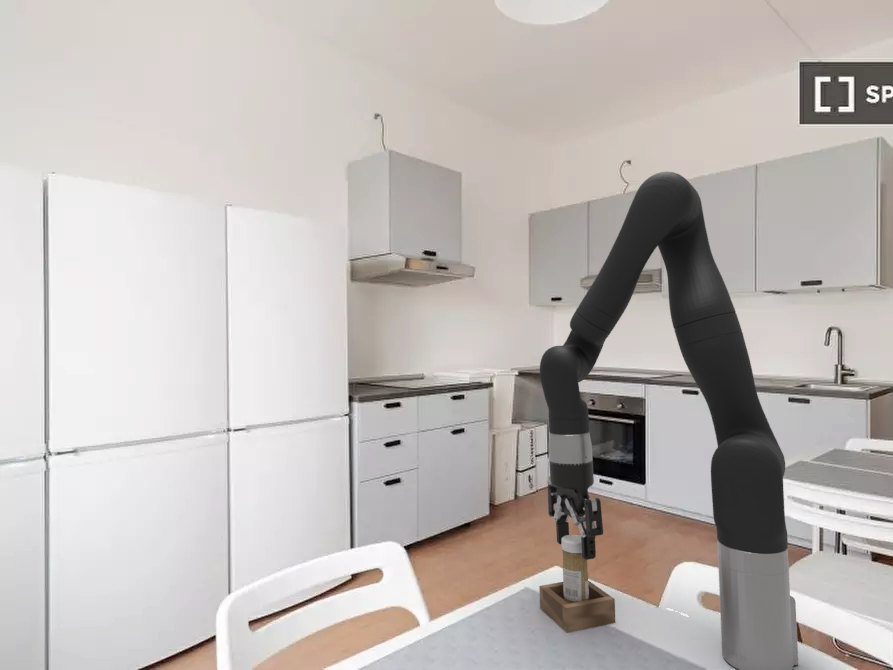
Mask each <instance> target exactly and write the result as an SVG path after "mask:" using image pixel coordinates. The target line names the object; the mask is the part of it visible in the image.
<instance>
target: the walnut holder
mask: <svg viewBox="0 0 893 670" xmlns="http://www.w3.org/2000/svg"><path fill="white" fill-rule="evenodd" d="M588 584H589V600H586V601H581V602H576V603H571V604H568V603H567V602H566V601H564V591H563V581H560V582H555V583H549V584H543V585H539V609H541V610H542V612H544V613H545V614H546V615H547V616H548V617H549V618H550V619H551V620H552V621H553V622H555V624H557V625H558V626H559V627H560V628H561V629H562V630H563V631H564V632H566V633H572V632H577V631H582V630H587V629H591V628H597V627H600V626H604V625H611V624H615V623H616V602H615V601H616V599H615V597H612V595H610V594H608V593H607V592H606V591H604V590H603V589H602V588H600V587H599V586H597V585H595V583H593V582H591V581H590V580H588Z"/></svg>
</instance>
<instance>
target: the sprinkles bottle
mask: <svg viewBox="0 0 893 670" xmlns="http://www.w3.org/2000/svg"><path fill="white" fill-rule="evenodd" d="M581 537H582V535H581V534H580V535H579V534H569V535H566V536H564V537H562V539H561V544H560V545H561V551H562V582H563V591H564V601H566V602H567V603H568V604H571V603H576V602H581V601H586V600H589V584H588V581H589V571H588V568H589V567H588V560H586V559H584V558H583V557H582V544H581Z"/></svg>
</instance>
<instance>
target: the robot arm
mask: <svg viewBox="0 0 893 670" xmlns="http://www.w3.org/2000/svg"><path fill="white" fill-rule="evenodd" d="M699 195H700V194H699V192H698V191H697V190H696V188H695V187H694V186H693V185H692V183H691V182H690V181H688V180H687V178H685V176H683V175H681V174H680V173H677V172H674V171H660V172H656V173H655V174H652V175H651V176H649V177H648V178H646V179H645V180H644V181H643V182H642V184H641V185H640V186H639V187H638V189H637V190H636V193H635V195H634V197H633V199H632V201H631V204H630V206H629V209H628V212H627V214H626V215H625V218H624V221H623V223H622V226H621V228H620V230H619V233H618V234H617V237H616V239H615V241H614V243H613V245H612V247H611V249H610V252H609V253H608V255H607V257H606V260H605V261H604V263H603V265H602V267H601V268H600V270H599V272H598V274H597V276H596V277H595V279H594V281H593V283H592V284H591V285H590V287H589V289H588V290H587V292H586V294H585V295H584V297H583V298H582V300H581V301H580V304H578V307H577V308H576V310H575V312H574V313H573V315H572V317H571V319H570V320H569V321H570V322H569V327H570V328H569V329H571V330H570V332H569V334H568V336H567V338H566V340H565V342H564V343H563V345H555V346H551V347H549V348H547V350H545V352H544V353H543V354H542V356H541V359H540V362H539V378H540V384H541V387H542V392H543V395H544V398H545V399H544V400H545V403H546V405H547V409H548V414H547V415H548V419H547V420H548V435H549V436H548V461H549V462H548V464H549V480H550V484H548V485H547V501H548V502H547V504H548V505H547V507H548V516H549V517H552V518H553V522H554V523H555V528H556V529H555V530H556V542H557V543H558V544H559V545H561V539H562V537H564V536H566V535H570V527H569V524H570V523H569V522H568V521H569V519H570V518H571V519H572V522H573V524H574V525H576V526H577V527H578V530H579V532H580V533H579V534H580V536H582V537H581V544H582V557H583V558H584V559H586V560H587V561H588V560H593V559H595V558H596V557H597V556H596V555H597V554H596V553H597V552H596V551H597V550H596V537H597V536H602V535H604V527H603V515H602V506H601V505H602V504H601V499H600V498H599V497H597V498H596V497H595V498H590V495H589V488H590V487H593V484H594V482H595V481H594V480H595V478H594V460H593V448H592V447H593V445H592V439H591V434H590V420H589V419H590V417H589V416H590V415H589V407H588V404H587V402H586V401H585V400H583V399H582V398H581V391H580V386H579V385H580V384H579V383H581V382H583V380H585V379H586V378H587V377H588V376H589V374H590V373H591V372H592V371H593V369H594V367H595V365H596V363H597V361H598V359H599V356H600V354H601V352H602V349H603V347H604V344H605V342H606V340H607V338H608V337H609V336H610V335H611V333H612V331H613V330H614V328H615V327H616V325H617V324H618V322H619V321H620V319H621V317H622V316H623V315H624V312H625V311H626V309H627V307H628V305H629V303H630V302H631V299H632V298H633V294H634V292H635V289H636V287H637V285H638V282H639V279H640V277H641V275H642V272H643V271H644V269H645V267H646V264H647V263H648V261H649V259H650V257H651V256H652V254H653V253H654V251H655V250H656V248H657V247H658V249H659V253H660V254H661V257H662V260H663V263H664V266H665V267H664V268H665V270H666V276H667V286H668V288H667V290H668V302H669V303H668V304H669V306H668V307H669V312H670V317H671V318H670V319H671V323H672V327H673V330H674V333H675V337H676V340H677V343H678V344H677V345H678V346H679V350H680V352H681V355H682V358H683V360H684V363H685V365H686V367H687V368H688V371H689V373H690V374H691V377H692V379H693V380H694V382H695V383H696V386H697V387H698V389H699V391H700V393H701V394H702V396H703V398H704V399H705V402H706V404H707V407H708V410H709V413H710V416H711V420H712V425H713V429H714V433H715V438H716V444H717V447H716V449H715V451H714V452H713V454H712V456H711V461H710V462H711V463H710V482H711V483H710V484H711V485H710V486H711V498H712V500H711V501H712V515H713V521H714V524H715V527H716V541H717V542H716V543H717V545H716V547H717V561H718V562H717V564H718V584H719V585H718V587H719V610H720V632H721V633H720V634H721V637H720V638H721V653H722V655H721V656H722V657H723V659H724V660H725V661H726V662H727V663H728V664H729V665H731V666H732V667H733V668H735V669H737V670H792V669H793V670H794V667H795V666H798V665H799V651H798V646H799V645H798V628H797V624H798V623H797V609H796V607H797V606H796V599H795V598H794V597H793V596H792V595H791V586H790V568H789V567H790V566H789V549H788V548H789V546H788V545H789V544H788V543H789V541H788V531H787V525H786V524H787V523H786V517H785V516H786V515H785V512H786V511H785V496H784V475H785V471H786V460H785V455H784V452H782V448H781V446H780V444H779V443H778V441H777V438H776V436H775V434H774V432H773V430H772V427H771V426H770V423H769V420H768V417H767V416H766V414H765V412H764V409H763V407H762V404H761V401H760V398H759V396H758V391H757V387H756V383H755V378H754V373H753V367H752V364H751V360H750V356H749V352H748V348H747V345H746V344H747V343H746V341H745V337H744V333H743V331H742V327H741V324H740V321H739V318H738V314H737V311H736V308H735V306H734V304H733V301H732V298H731V296H730V293H729V291H728V288H727V286H726V283H725V281H724V278H723V277H722V276H723V275H722V274H721V271H720V269H719V268H718V265H717V263H716V262H715V258H714V256H713V253H712V249H711V246H710V242H709V236H708V233H707V232H708V231H707V228H706V222H705V217H704V210H703V207H702V201H701V196H699ZM794 665H795V666H794ZM793 666H794V667H793Z"/></svg>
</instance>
